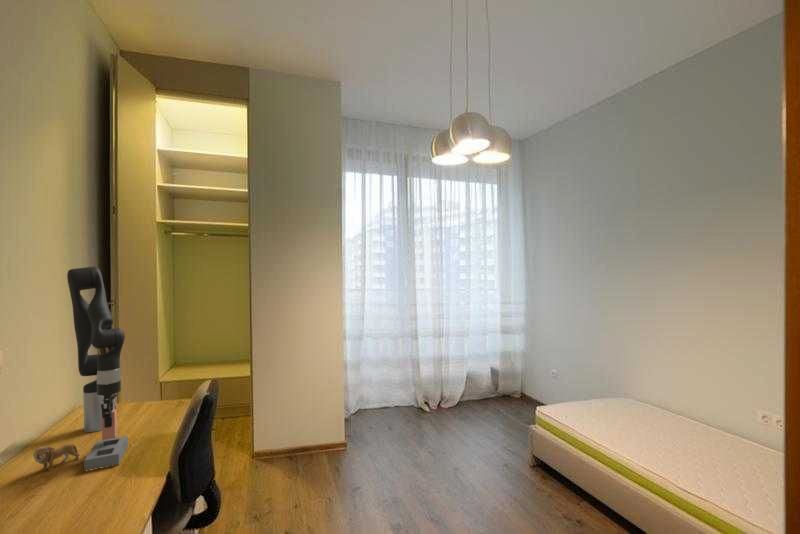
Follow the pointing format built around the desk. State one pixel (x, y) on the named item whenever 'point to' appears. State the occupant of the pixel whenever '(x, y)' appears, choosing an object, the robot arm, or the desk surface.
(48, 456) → the lion figurine
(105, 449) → the pocket board
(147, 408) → the desk surface
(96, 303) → the robot arm
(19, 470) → the desk surface
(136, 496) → the desk surface
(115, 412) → the peg
